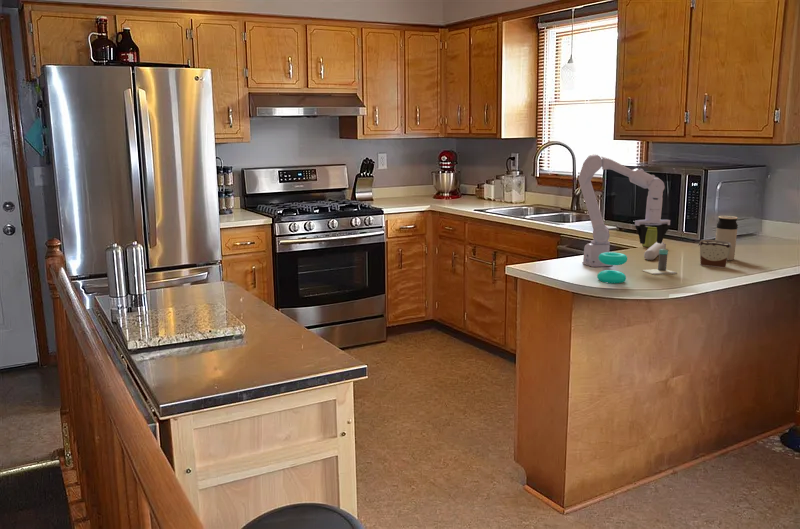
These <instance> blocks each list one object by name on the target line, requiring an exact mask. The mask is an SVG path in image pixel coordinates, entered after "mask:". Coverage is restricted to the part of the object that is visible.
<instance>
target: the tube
mask: <svg viewBox="0 0 800 529" xmlns="http://www.w3.org/2000/svg"><path fill="white" fill-rule="evenodd" d="M666 247H667V244H666V243H665V241H663V240H662V243H661V244H660V243H657V242H656V243H655V244H653V245H652V246H651V247H647V249H646V250H645V251H644V252H643V258H644V259H646V260H647V261H653V260H655V259H656V258H657V257H659V249H667V248H666Z"/></svg>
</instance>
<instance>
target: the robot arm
mask: <svg viewBox="0 0 800 529" xmlns="http://www.w3.org/2000/svg"><path fill="white" fill-rule="evenodd" d="M601 169H602V171H604V170H611V171H613V172H615V173H618V174H621V175H623V176H625V177H628V180H629V182H630V183H632V184H634V185H637V186H638V187H640V188H642V189H648V191H647V196H646V207H645V215H644V216H645V219H637V220H636V219H635V220H634V226H635V227H634V228H635V229H636V231H637V234H638V238H639V244H641V245H642V244H645V238H646V233H647V230H648V227H649V226H655V227H657V243H660V244H661V243H662V241H663V240H664V239H665V238H664V237H665V235H666V233H667V232H668V231H669V229H670V226H671V219H661V218H662V208H663V199H664V198H663V194H664V193H663V192H664V190H665V189H666V186H665V182H664V181H663V180H662V179H660V178H659V177H658V176H656V175H655V174H650V173H648V172H646V171H645V170H644V169H643V168H634V169H631V168H629V167H627V166H625V165H623V164H621V163H619V162H616V161H615V160H613V159H611V158H608V157H604V156H600V155H598V154H596V153H593V154H590V155H588V157H586V159H585V160H584V161H583V163H582V166H581V170H580V172H579V175H578V182H579V183H578V184H579V187H580V190H581V193H582V196H583V200H584V202H585V205H586V206H585V207H586V209H587V210H586V211H587V212H588V216H589V220H590V222H591V226H592V238H593V239H592V240H591V241H590V243H586V244H585V245H584V248H583V258H582V259H583V261H581V263H582V264H584V265H587V266H589V267H591V268H594V267H613V266H614V265H607V264H604V263H602V262H600V260H599V258H598V257H599V255H600V254H601V253H605V252H610V247H611V246H610V245H611V244H610V243H611V242H610V241H609V239H610V230H609V228H608V227H607V226H606V224H605V222H604V219H603V217H602V213H601V210H600V207H599V204H598V200H597V197H596V193H595V190H594V187H593V183H592V181H591V180H593V178H594V176H595V174H596V173H597V172H599V170H601Z"/></svg>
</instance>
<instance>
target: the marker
mask: <svg viewBox="0 0 800 529" xmlns="http://www.w3.org/2000/svg"><path fill="white" fill-rule="evenodd" d="M668 255H669V249H667V248H666V249H659V255H658V263H657V264H658V266H657V269H658V270H660V271H666V269H667V265H668Z"/></svg>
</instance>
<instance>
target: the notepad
mask: <svg viewBox="0 0 800 529" xmlns="http://www.w3.org/2000/svg"><path fill="white" fill-rule="evenodd" d="M641 272H643V273H644V272H645V273H647V274H650V275H654V276H662V275H663V276H664V275H666V276H667V275H678V272H677V271H674V270H669V269H667V268H666V271H660V270H658V268H655V269H653V268H652V269H642V270H641Z"/></svg>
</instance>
